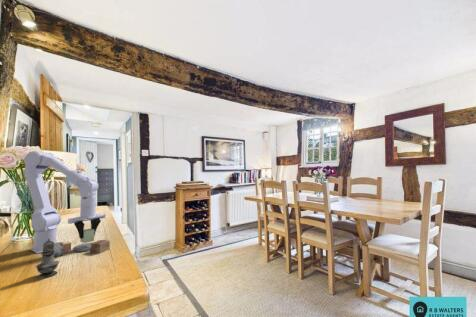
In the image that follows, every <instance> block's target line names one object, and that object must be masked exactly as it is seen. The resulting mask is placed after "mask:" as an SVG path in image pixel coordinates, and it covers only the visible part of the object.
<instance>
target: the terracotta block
mask: <svg viewBox="0 0 476 317" xmlns="http://www.w3.org/2000/svg"><path fill="white" fill-rule="evenodd" d="M62 242H63V253H67V252H71V250H72V242H70V241H68V240H67V241H62Z"/></svg>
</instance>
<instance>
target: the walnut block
mask: <svg viewBox="0 0 476 317" xmlns="http://www.w3.org/2000/svg"><path fill="white" fill-rule="evenodd" d="M110 242H111V241H110V240H109V239H108V240H107V239H99V240H97V241H92V242H90V243H91V250H90V251H89V252H90V253H92V254H102V253H104V252H106V251H110Z"/></svg>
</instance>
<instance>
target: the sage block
mask: <svg viewBox="0 0 476 317" xmlns="http://www.w3.org/2000/svg"><path fill="white" fill-rule="evenodd" d="M79 241H80V242H81V243H82V244H85V243H92V242H95V236H94V229H91V228H84V230H83V238H82V239H81V238H80V240H79Z"/></svg>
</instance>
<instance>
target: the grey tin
mask: <svg viewBox="0 0 476 317" xmlns="http://www.w3.org/2000/svg"><path fill="white" fill-rule="evenodd" d="M63 242H64V241H61V242H59V241H58V242H57V241H56V243H54V251H55V252H54V259H55V258H59V257H62V256H64V252H63Z"/></svg>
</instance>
